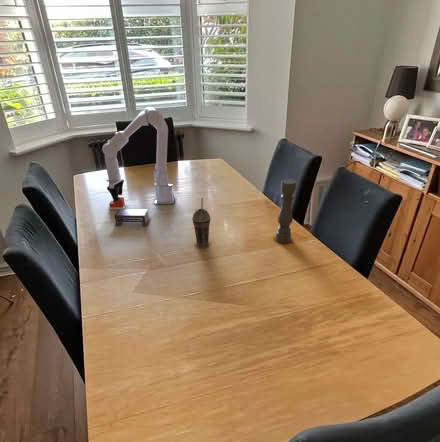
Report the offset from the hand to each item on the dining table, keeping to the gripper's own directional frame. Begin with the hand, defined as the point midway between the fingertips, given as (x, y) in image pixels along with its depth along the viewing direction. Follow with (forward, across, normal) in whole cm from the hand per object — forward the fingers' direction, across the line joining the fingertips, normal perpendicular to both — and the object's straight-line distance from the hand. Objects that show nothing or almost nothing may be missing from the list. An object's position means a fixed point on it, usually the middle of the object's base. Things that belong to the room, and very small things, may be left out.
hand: (118, 197), depth 179 cm
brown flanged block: (+5, +17, +10) cm, 21 cm away
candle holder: (+5, +34, +79) cm, 86 cm away
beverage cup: (+6, +39, +45) cm, 60 cm away
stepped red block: (+5, 0, -1) cm, 6 cm away
